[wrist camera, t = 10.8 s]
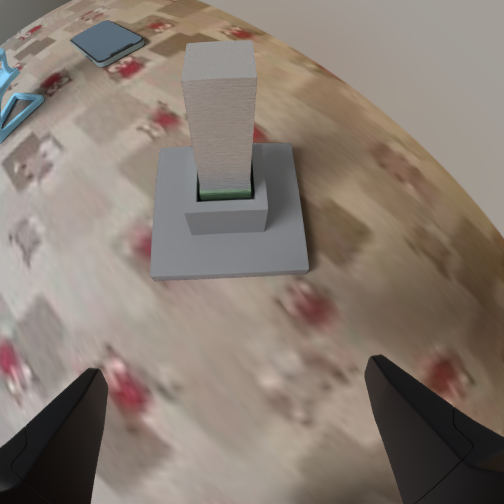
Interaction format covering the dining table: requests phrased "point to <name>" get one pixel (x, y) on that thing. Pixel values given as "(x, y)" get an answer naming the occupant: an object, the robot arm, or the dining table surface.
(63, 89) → the dining table surface
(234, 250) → the base
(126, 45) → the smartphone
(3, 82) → the light blue holder stand
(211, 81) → the column
